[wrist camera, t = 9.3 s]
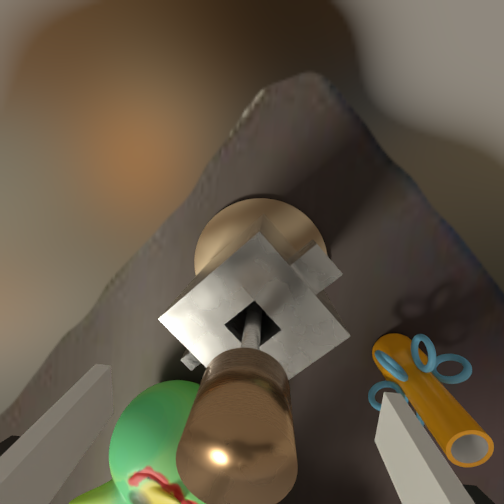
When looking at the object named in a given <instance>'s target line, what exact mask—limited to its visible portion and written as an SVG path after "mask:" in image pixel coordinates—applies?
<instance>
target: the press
mask: <svg viewBox="0 0 504 504" xmlns="http://www.w3.org/2000/svg"><path fill="white" fill-rule="evenodd" d="M341 275H343V274H342V273H341V272H340V270H339V269H338V268H337V267H336V266H335V265H334V263H333V262H332V261H331V260H330V259H329V257H328V256H327V255H326V254H325V253H324V252H323V250H322V249H321V248H320V247H319V246H318V244H317V243H316V242H315V241H314V240H313V239H312V240H311V241H310V242H309V243H307V244H306V245H305V246H304V247H302V248H301V249H300V250H299V251H298V252H297V251H296V250H295V249H294V248H293V247H292V246H291V244H290V243H289V242H288V241H287V240H286V239H285V237H284V236H283V235H282V234H281V233H280V232H279V230H278V229H277V228H276V227H275V226H274V225H273V224H272V222H271V221H270V220H269V219H268V218H267V217H266V215H265V214H263V215H262V216H261V217H259V218H258V219H257V220H256V221H255V222H254V223H253V224H251V225H250V226H249V227H248V228H247V229H246V230H245V231H243V232H242V233H241V234H240V235H239V236H238V237H237V238H235V239H234V240H233V241H232V242H231V243H230V244H229V245H227V246H226V247H225V248H224V249H223V250H222V251H221V252H219V253H218V254H217V255H216V256H215V257H214V258H213V259H211V260H210V261H209V262H208V263H207V264H206V265H205V267H204V268H203V269H202V270H201V271H200V272H199V273H198V274H197V276H196V277H195V278H194V279H193V280H192V281H191V282H190V283H189V285H188V286H187V287H186V288H185V289H184V290H183V291H182V293H181V294H180V295H179V296H178V297H177V298H176V299H175V300H174V302H173V303H172V304H171V305H170V306H169V307H168V308H167V309H166V311H165V312H164V313H163V314H162V315H161V316H160V317H159V318H158V319H159V321H160V322H161V323H162V324H163V325H164V326H165V327H166V328H167V329H168V330H169V331H170V332H171V333H172V334H173V335H174V336H175V337H176V338H177V339H178V340H179V341H180V342H181V343H182V344H183V345H184V346H185V347H186V350H185V352H184V354H183V356H182V358H181V361H182V362H183V363H184V364H185V365H186V366H187V367H188V368H189V369H190V370H191V371H192V370H193V369H194V368H195V367H197V366H198V365H199V364H201V363H202V364H203V365H204V366H205V367H206V368H207V366H208V364H209V363H210V362H211V361H212V360H213V359H214V358H215V357H216V356H217V355H219V354H220V353H222V352H224V351H227V350H230V349H234V348H241V343H242V337H243V332H244V327H245V321H246V316H247V314H244V313H242V312H241V311H242V310H243V309H244V308H246V307H247V306H248V305H249V304H251V303H252V302H253V301H254V300H255V301H256V302H257V303H258V305H259V306H260V307H261V308H262V309H263V310H264V311H265V312H266V313H267V314H268V315H267V316H262V318H261V334H260V350H261V351H263V352H265V353H267V354H269V355H271V356H272V357H273V358H275V359H276V360H277V361H278V362H279V363H280V364H281V366H282V367H283V368H284V370H285V372H286V374H287V377H288V380H289V379H290V378H292V377H293V376H295V375H296V374H298V373H299V372H300V371H302V370H303V369H305V368H306V367H307V366H309V365H310V364H312V363H313V362H315V361H316V360H317V359H319V358H320V357H322V356H323V355H325V354H326V353H327V352H329V351H330V350H332V349H333V348H334V347H336V346H337V345H339V344H340V343H342V342H343V341H344V340H346V339H347V338H349V337H350V334H349V332H348V330H347V329H346V327H345V325H344V324H343V322H342V320H341V318H340V317H339V315H338V313H337V311H336V310H335V308H334V306H333V304H332V303H331V301H330V299H329V297H328V296H327V294H326V292H325V291H324V288H326V287H327V286H328V285H330V284H331V283H332V282H333V281H335V280H336V279H337V278H339V277H340V276H341Z"/></svg>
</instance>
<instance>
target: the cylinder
mask: <svg viewBox="0 0 504 504" xmlns="http://www.w3.org/2000/svg"><path fill="white" fill-rule="evenodd" d="M420 341H423V342H424V344H425V346H426V348H427V352H428V357H427V356H426V355H425V354H424V353H423V352H422V350H421V349H420V348H419V347H418V345H419V342H420ZM372 357H373V360H374V362H375V364H376V365H377V367H378V368H379V370H380V372H381V373H382V375H383V376H384V378H385V379H386V381H380V382H378V383H376V384H374V385H373V386H372V387H371V389H370V390H369V393H368V399H369V402H370V404H371V405H372V406H373V407H374V408H375V409H376V410H379V411H380V410H381V405H382V404H380V403H378V402H376V400H375V394H376V393H377V391H379V390H380V389H382V388H385V387H390V388H393V389H395V390H396V392H397V393H401V395H402V396H403V398H404V399H405V401H406V402H407V403H408V401H410V403H411V404H412V406H413V407H414V409H415V410H416V416H417V418H418V420H419V421H420V423H421V424H422V426H424V423H425V425H426V426H427V428H428V429H429V431H430V432H431V434H432V435H433V437H434V438H435V440H436V441H437V443H438V444H439V445H440V447H441V448H442V450H443V451H444V453H445V454H446V456H447V457H448V459H449V460H450V461H451V462H452V463H454V464H456V465H458V466H461V467H474V466H478V465H480V464H482V463H484V462H485V461H487V460H488V459H489V458H490V456H491V455H492V453H493V450H494V444H493V441H492V439H491V438H490V437H489V436H488V434H487V433H486V432H485V431H484V430H483V429H482V428H481V427H480V426H479V425H478V423H477V422H476V421H475V420H474V419H473V418H472V417H471V416H470V415H469V414H468V412H467V411H466V410H465V409H464V408H463V407H462V406H461V405H460V404H459V403H458V401H457V400H456V399H455V398H454V397H453V396H452V395H451V394H450V393H449V392H448V390H447V389H446V388H445V387H444V386H443V385H442V384H441V383H440V382H443V383H448V384H456V383H461V382H463V381H465V380H467V379H468V378H469V377H470V376H471V374H472V366H471V364H470V362H469V361H468V360H467V359H465V358H464V357H462V356H460V355H456V354H442V355H439V356H437V357H436V351H435V347H434V345H433V343H432V341H431V340H430V339H429V338H428V337H427V336H426V335H424V334H417V335H415V336H414V337H413V339H412V340H411V339H410V338H408V337H407V336H405V335H402V334H398V333H390V334H386V335H384V336H382V337H381V338H379V339H378V340H377V341H376V342H375V344H374V346H373V349H372ZM449 360H451V361H457V362H459V363H461V364H462V365H463V371H462V372H461V373H460V374H458V375H455V376H444V375H441V374H439V373H438V372H437V369H436V368H437V366H438V365H439V364H440V363H441V362H444V361H449ZM439 381H440V382H439Z"/></svg>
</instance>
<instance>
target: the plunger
mask: <svg viewBox="0 0 504 504" xmlns="http://www.w3.org/2000/svg"><path fill="white" fill-rule="evenodd" d="M241 312H242V313H244V314H247V316H246V321H245V327H244V332H243V337H242V343H241V348H234V349H230V350H227V351H224V352H222V353H220V354H219V355H217V356H216V357H215V358H214V359H213V360H212V361H211V362H210V363H209V364H208V366H207V368H206V370H205V372H204V375H203V378H202V380H201V383H200V386H199V389H198V392H197V394H196V397H195V400H194V403H193V405H192V408H191V411H190V414H189V416H188V419H187V422H186V425H185V428H184V430H183V433H182V436H181V439H180V441H179V444H178V447H177V451H176V467H177V471H178V474H179V476H180V478H181V480H182V482H183V484H184V485H185V486H186V488H187V489H188V490H189V491H190V492H191V493H192V494H193V495H194V496H195V497H197V498H198V499H199V500H201V501H202V502H204V503H206V504H277V503H278V502H279V501H281V500H282V499H283V498H284V497H285V496H286V495H287V494H288V493H289V492H290V491H291V489H292V487H293V485H294V483H295V481H296V477H297V471H298V464H297V455H296V445H295V436H294V426H293V417H292V407H291V398H290V389H289V380H288V377H287V374H286V372H285V370H284V368H283V367H282V366H281V364H280V363H279V362H278V361H277V360H276V359H275V358H273V357H272V356H271V355H269V354H267V353H265V352H263V351H261V350H260V334H261V318H262V316H267V315H268V314H267V313H266V312H265V311H264V310H263V309H262V308H261V307H260V306H259V305H258V303H257V302H256V301H255V300H254V301H253V302H252V303H251V304H249V305H248V306H247V307H246V308H244V309H243V310H242V311H241Z"/></svg>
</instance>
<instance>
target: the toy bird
mask: <svg viewBox="0 0 504 504" xmlns="http://www.w3.org/2000/svg"><path fill="white" fill-rule="evenodd" d="M199 386H200V384H197V383H194V382H190V381H184V380H171V381H165V382H161V383H158V384H156V385H153V386H151V387H149V388H148V389H146V390H144V391H143V392H142V393H140V394H139V395H138V396H137V397H136V398H134V399H133V400H132V402H131V403H130V404H129V405H128V406H127V407H126V409H125V410H124V411H123V413H122V414H121V416H120V418H119V420H118V422H117V424H116V426H115V428H114V431H113V434H112V438H111V442H110V448H109V466H110V472H111V476H112V480H110V481H109V482H107V483H105V484H103V485H101V486H99V487H97V488H95V489H92V490H90V491H88V492H86V493H84V494H82V495H80V496H78V497H76V498H75V499H73V500H72V501H70V502H69V504H206V503H204V502H202V501H201V500H199V499H198V498H197V497H195V496H194V495H193V494H192V493H191V492H190V491H189V490H188V489H187V488H186V486H185V485H184V484H183V482H182V480H181V478H180V476H179V474H178V471H177V467H176V451H177V447H178V444H179V441H180V439H181V436H182V433H183V430H184V428H185V425H186V422H187V419H188V416H189V414H190V411H191V408H192V405H193V403H194V400H195V397H196V394H197V392H198V389H199Z"/></svg>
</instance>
